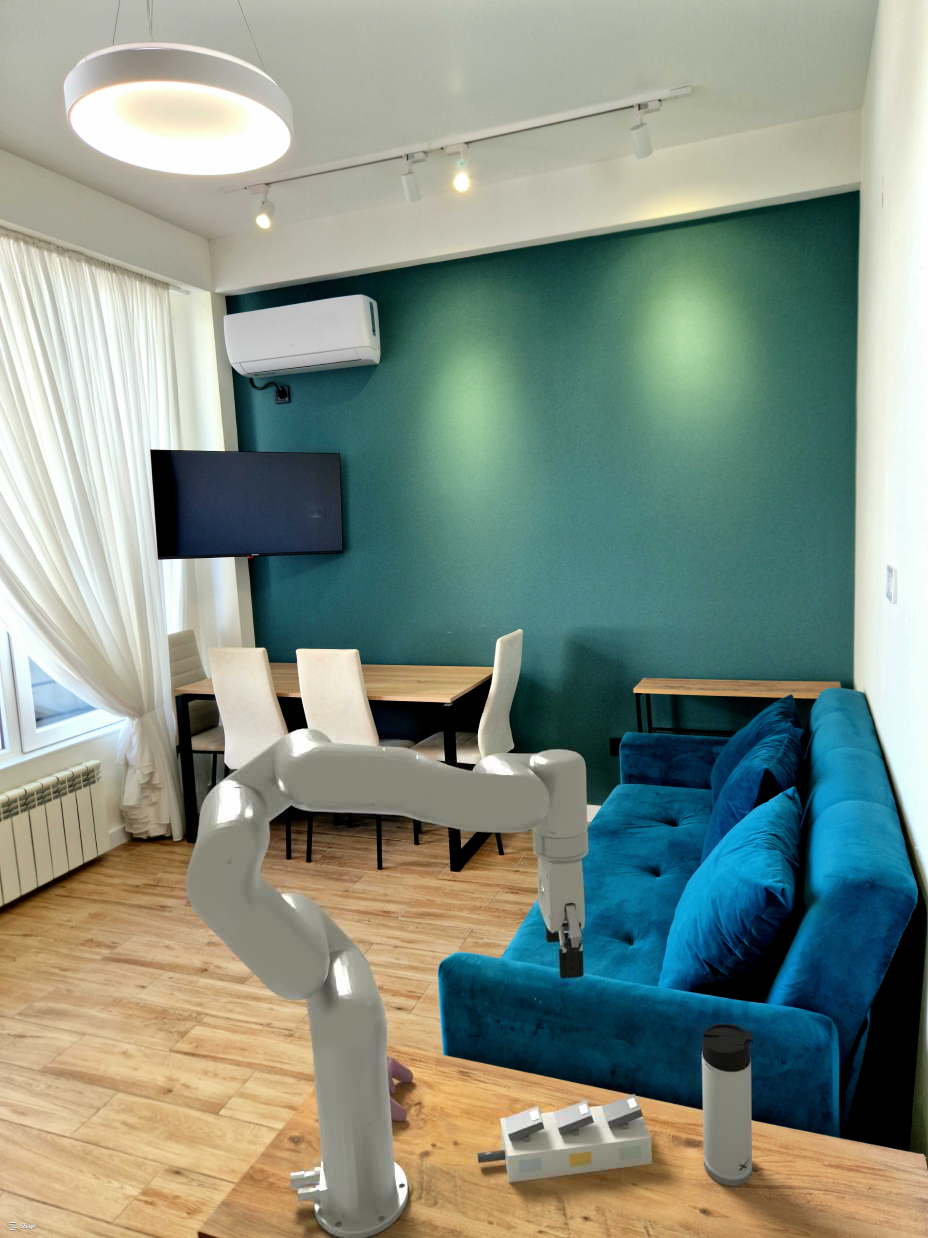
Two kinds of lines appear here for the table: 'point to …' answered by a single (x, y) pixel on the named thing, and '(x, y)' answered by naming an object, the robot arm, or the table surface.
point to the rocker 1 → (524, 1123)
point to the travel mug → (727, 1103)
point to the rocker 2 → (622, 1111)
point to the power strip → (572, 1148)
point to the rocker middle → (573, 1117)
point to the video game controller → (399, 1074)
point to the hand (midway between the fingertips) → (564, 958)
